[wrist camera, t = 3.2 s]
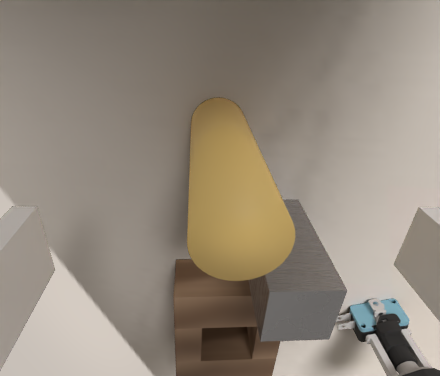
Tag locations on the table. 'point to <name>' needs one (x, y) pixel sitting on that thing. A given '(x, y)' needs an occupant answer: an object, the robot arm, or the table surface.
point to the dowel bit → (233, 198)
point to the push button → (388, 337)
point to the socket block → (217, 327)
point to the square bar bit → (299, 289)
